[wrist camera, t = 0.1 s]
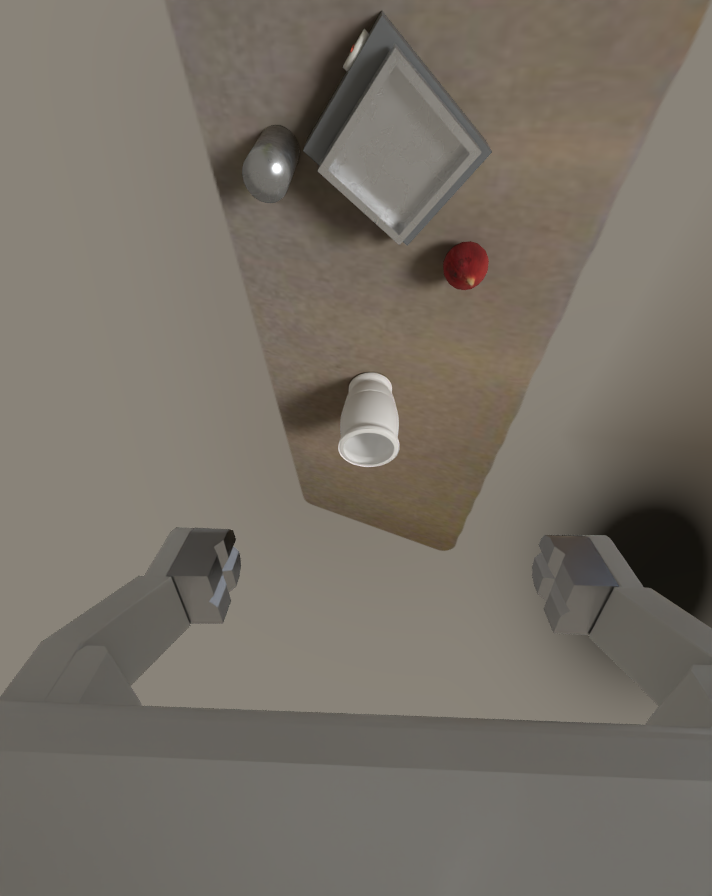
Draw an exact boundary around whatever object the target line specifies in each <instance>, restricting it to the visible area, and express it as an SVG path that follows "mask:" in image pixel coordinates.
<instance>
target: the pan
mask: <svg viewBox="0 0 712 896" xmlns="http://www.w3.org/2000/svg"><path fill="white" fill-rule="evenodd" d="M481 153H482V152H481V150H480V148H479V146H478V144H477V143H476V142H475V140H474V139H473V138H472V137H471V135H470V134H469V133H468V132H467V131H466V129H465V128H464V127H463V126H462V124H461V123H460V122H459V121H458V120H457V118H456V117H455V116H454V115H453V113H452V112H451V111H450V110H449V108H448V107H447V106H446V105H445V104H444V102H443V101H442V100H441V99H440V97H439V96H438V95H437V94H436V93H435V91H434V90H433V89H432V88H431V86H430V85H429V84H428V83H427V82H426V80H425V79H424V78H423V77H422V75H421V74H420V73H419V72H418V70H417V69H416V68H415V67H414V66H413V64H412V63H411V62H410V61H409V59H408V58H407V57H406V56H405V55H404V53H403V52H402V51H401V50H400V48H399V47H398V46H397V45H396V43H394V44H393V46H392V48H391V49H390V51H389V52H388V54H387V56H386V57H385V59H384V60H383V62H382V64H381V65H380V67H379V68H378V70H377V72H376V73H375V75H374V76H373V78H372V80H371V81H370V83H369V84H368V86H367V88H366V89H365V91H364V92H363V94H362V96H361V97H360V99H359V100H358V102H357V104H356V105H355V107H354V108H353V110H352V112H351V113H350V115H349V116H348V118H347V120H346V121H345V123H344V124H343V126H342V128H341V129H340V131H339V132H338V134H337V136H336V137H335V139H334V140H333V142H332V144H331V145H330V147H329V148H328V150H327V152H326V153H325V155H324V156H323V158H322V160H321V161H320V164H319V167H318V172H319V173H320V174H321V175H322V176H323V177H324V178H326V179H327V180H328V181H329V182H330V183H331V184H332V185H333V186H334V187H336V188H337V189H338V190H339V191H340V192H341V193H342V194H343V195H344V196H346V197H347V198H348V199H349V200H350V201H351V202H352V203H353V204H354V205H356V206H357V207H358V208H359V209H360V210H361V211H362V212H363V213H364V214H365V215H367V216H368V217H369V218H370V219H371V220H372V221H373V222H374V223H375V224H377V225H378V226H379V227H380V228H381V229H382V230H383V231H384V232H385V233H387V234H388V235H389V236H390V237H391V238H392V239H393V240H394V241H395V242H397V243H398V244H399V245H400V244H401V243H402V242H403V241H404V240H405V238H406V237H407V236H408V235H409V234H410V233H411V232H412V231H413V229H414V228H415V227H416V226H417V225H418V224H419V223H420V222H421V220H422V219H423V218H424V217H425V216H426V215H427V214H428V213H429V211H430V210H431V209H432V208H433V207H434V206H435V205H436V204H437V202H438V201H439V200H440V199H441V198H442V197H443V196H444V195H445V193H446V192H447V191H448V190H449V189H450V188H451V187H452V186H453V184H454V183H455V182H456V181H457V180H458V179H459V178H460V177H461V175H462V174H463V173H464V172H465V171H466V170H467V169H468V168H469V166H470V165H471V164H472V163H473V162H474V161H475V160H476V159H477V157H478V156H479V155H480V154H481Z"/></svg>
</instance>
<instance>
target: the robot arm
mask: <svg viewBox="0 0 712 896" xmlns="http://www.w3.org/2000/svg"><path fill="white" fill-rule="evenodd" d="M235 541H236V538H235V535H234V532H233V530H230V529H209V528H179V527H176V528H175V529H173V530H172V531H171V532H170V534H169V535H168V537H167V539H166V540H165V542H164V544H163V545H162V547H161V549H160V550H159V552H158V554H157V555H156V557H155V559H154V560H153V562H152V564H151V565H150V567H149V568H148V570H147V572H146V573H145V575H144V576H138V577H136V578H135V579H133V580H132V581H130V582H129V583H127V584H126V585H125V586H123V587H121V588H120V589H118V590H117V591H115V592H114V593H113V594H111V595H110V596H108V597H107V598H105V599H104V600H103V601H101V602H99V603H98V604H96V605H95V606H93V607H92V608H90V609H89V610H87V611H86V612H85V613H83V614H82V615H80V616H79V617H77V618H76V619H74V620H73V621H71V622H70V623H69V624H67V625H66V626H64V627H63V628H61V629H59V630H58V631H57V632H55V633H54V634H52V635H51V636H49V637H48V638H46V639H45V640H43V641H42V642H41V643H40V644H39V645H38V647H37V648H36V650H35V651H34V652H33V654H32V655H31V656H30V658H29V659H28V660H27V662H26V663H25V664H24V666H23V667H22V668H21V670H20V671H19V672H18V674H17V675H16V677H15V678H14V679H13V681H12V682H11V683H10V684H9V686H8V687H7V688H6V690H5V691H4V693H3V694H2V695H1V697H0V896H712V628H710V627H708V626H707V625H705V624H704V623H702V622H701V621H699V620H698V619H696V618H695V617H693V616H692V615H690V614H689V613H687V612H686V611H684V610H682V609H681V608H679V607H678V606H677V605H675V604H674V603H672V602H671V601H669V600H667V599H666V598H664V597H663V596H661V595H660V594H658V593H657V592H655V591H654V590H652V589H650V588H644V587H643V586H642V584H641V583H640V581H639V580H638V579H637V577H636V576H635V574H634V573H633V571H632V570H631V568H630V567H629V565H628V564H627V562H626V561H625V559H624V558H623V557H622V555H621V554H620V552H619V551H618V549H617V548H616V546H615V545H614V543H613V542H612V541H611V539H610V538H609V537H607V536H606V535H585V536H583V535H544V536H543V537H542V538H541V541H540V543H539V547H540V549H541V552H542V553H540V554H539V555H537V556H536V557H535V558H534V562H533V566H532V578H533V582H534V586H535V589H536V591H537V594H538V595H540V596H541V597H542V598H543V599H544V600H546V604H545V607H544V611H545V614H546V616H547V619H548V621H549V623H550V626H551V628H552V631H553V633H561V634H579V635H589V637H590V639H591V640H592V641H593V642H595V644H596V645H597V646H599V648H600V649H601V650H602V651H604V653H605V654H607V656H609V657H610V658H611V659H612V661H614V662H615V663H616V664H617V665H618V666H619V667H620V668H621V669H622V670H623V671H624V672H625V673H626V674H627V675H628V676H629V677H630V678H631V679H632V680H633V681H634V682H635V683H636V684H637V685H638V686H639V687H640V688H641V689H642V690H643V691H644V692H645V693H646V694H647V695H648V696H649V697H650V698H651V699H652V700H653V701H654V702H655V703H656V704H657V705H658V706H659V707H658V708H657V709H656V711H655V712H654V713H653V714H652V716H651V717H650V718H649V719H648V721H647V723H646V725H637V724H611V723H583V722H557V721H532V720H506V719H505V720H504V719H478V718H453V717H427V716H400V715H374V714H346V713H320V712H319V713H318V712H294V711H292V712H291V711H267V710H240V709H214V708H186V707H161V706H142V705H141V702H140V700H139V699H138V697H137V695H136V694H135V692H134V691H133V689H132V688H131V685H132V684H133V683H134V682H135V681H136V680H137V679H138V678H139V677H140V676H141V675H142V674H143V673H144V672H145V671H146V670H147V669H148V668H149V667H150V666H151V665H152V664H153V663H154V662H155V661H156V660H157V659H158V658H159V657H160V656H161V655H162V654H163V653H164V652H165V651H166V649H168V648H169V647H170V646H171V644H173V643H174V642H175V641H176V640H177V639H178V638H179V637H180V636H181V635H182V634H183V633H184V632H185V631H186V630H187V628H188V627H189V626H190V624H194V623H195V624H200V623H201V624H204V623H205V624H207V623H208V624H218V623H219V624H220V623H221V624H222V623H223V622H224V619H225V616H226V614H227V611H228V608H229V605H230V602H231V599H230V595H229V592H230V591H231V590H232V589H234V588H235V587H236V585H237V582H238V579H239V576H240V569H241V560H240V554H239V551H238V550H237V549H236V548H234V547H233V545H234V543H235Z"/></svg>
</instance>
